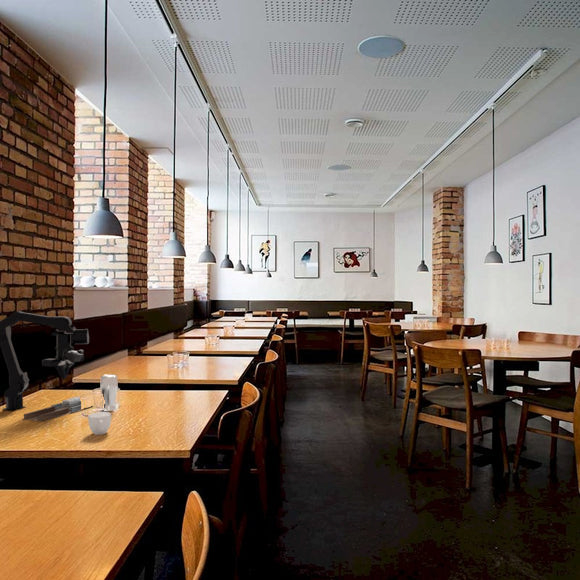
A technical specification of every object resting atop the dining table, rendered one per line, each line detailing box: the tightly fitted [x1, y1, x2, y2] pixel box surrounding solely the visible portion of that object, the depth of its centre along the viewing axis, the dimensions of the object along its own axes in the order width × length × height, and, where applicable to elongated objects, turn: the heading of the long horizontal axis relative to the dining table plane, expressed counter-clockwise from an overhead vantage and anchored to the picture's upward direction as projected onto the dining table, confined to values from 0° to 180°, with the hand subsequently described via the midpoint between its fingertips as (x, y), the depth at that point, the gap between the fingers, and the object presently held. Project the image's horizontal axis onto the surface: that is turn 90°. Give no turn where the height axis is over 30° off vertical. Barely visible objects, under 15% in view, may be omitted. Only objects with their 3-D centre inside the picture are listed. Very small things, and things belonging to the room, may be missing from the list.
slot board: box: [21, 402, 82, 423], centre depth 200 cm, size 12×26×2 cm, turn 158°
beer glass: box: [99, 373, 119, 412], centre depth 205 cm, size 7×7×15 cm
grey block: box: [69, 396, 81, 406], centre depth 209 cm, size 4×4×4 cm
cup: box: [87, 411, 112, 436], centre depth 172 cm, size 8×10×7 cm
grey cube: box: [61, 398, 77, 411], centre depth 205 cm, size 4×4×4 cm
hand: (64, 379), depth 212 cm, fingers closed
